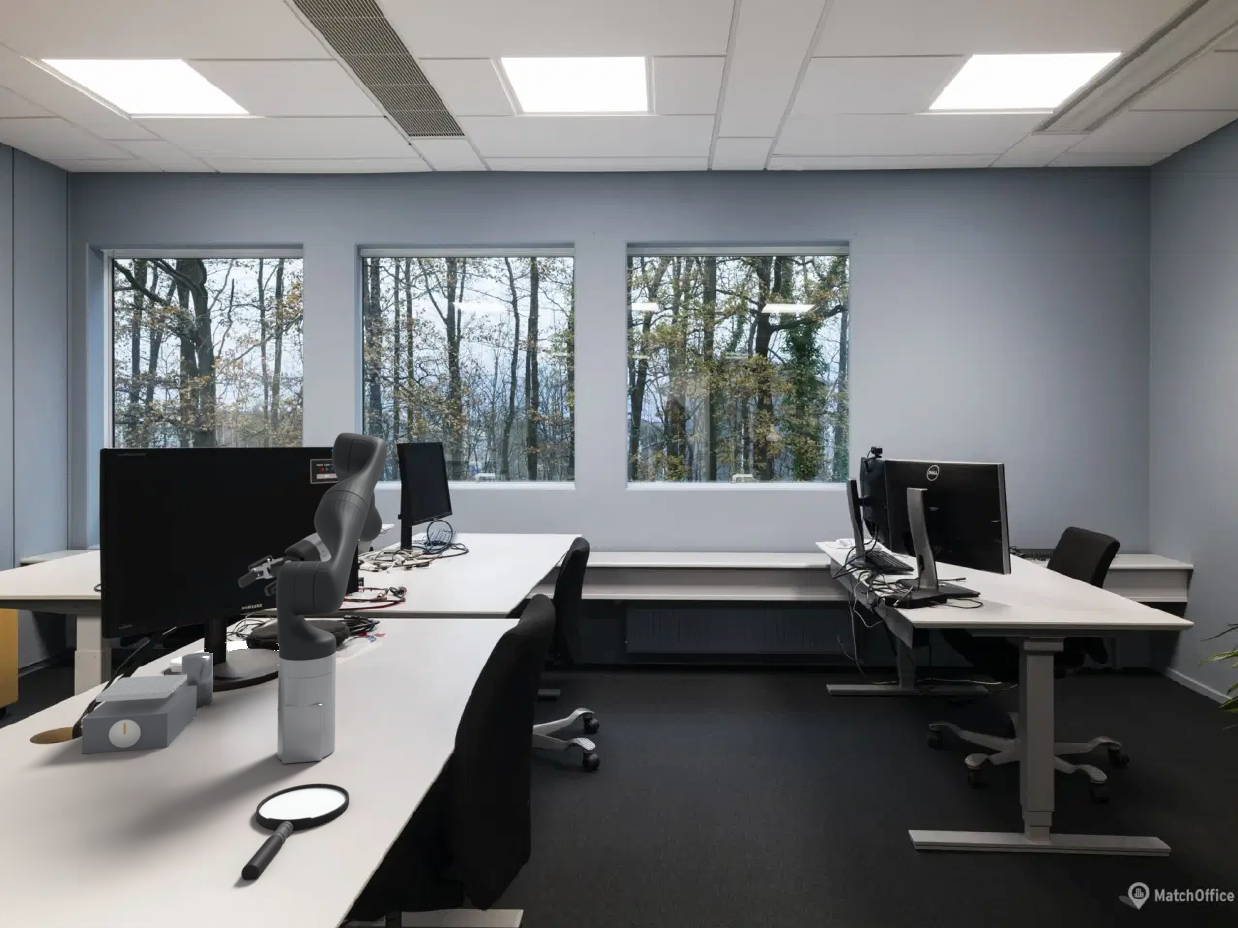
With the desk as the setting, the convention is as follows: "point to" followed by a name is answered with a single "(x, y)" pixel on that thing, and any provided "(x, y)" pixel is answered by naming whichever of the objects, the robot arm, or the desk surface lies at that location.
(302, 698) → the robot arm
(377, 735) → the desk surface
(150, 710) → the scale base
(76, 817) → the desk surface
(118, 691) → the scale pan
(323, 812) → the magnifying glass
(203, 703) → the cylinder
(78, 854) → the desk surface
